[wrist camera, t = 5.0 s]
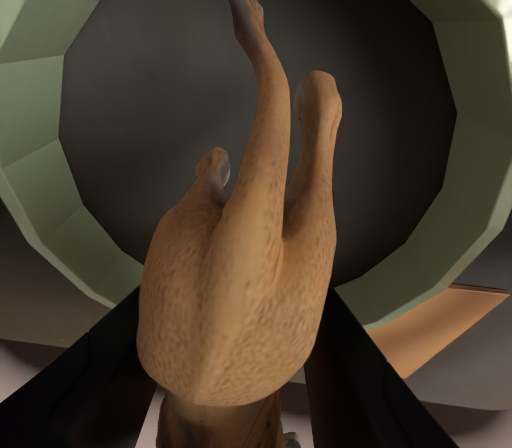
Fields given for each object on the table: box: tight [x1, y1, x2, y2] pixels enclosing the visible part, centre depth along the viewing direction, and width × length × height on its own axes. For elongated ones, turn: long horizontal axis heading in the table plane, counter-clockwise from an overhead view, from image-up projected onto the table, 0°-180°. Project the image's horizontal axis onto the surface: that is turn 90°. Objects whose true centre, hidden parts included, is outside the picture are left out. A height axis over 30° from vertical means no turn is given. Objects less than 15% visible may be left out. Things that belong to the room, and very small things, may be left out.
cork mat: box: [366, 284, 510, 378], centre depth 19 cm, size 7×13×1 cm, turn 173°
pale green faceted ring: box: [0, 0, 512, 331], centre depth 11 cm, size 18×18×3 cm
